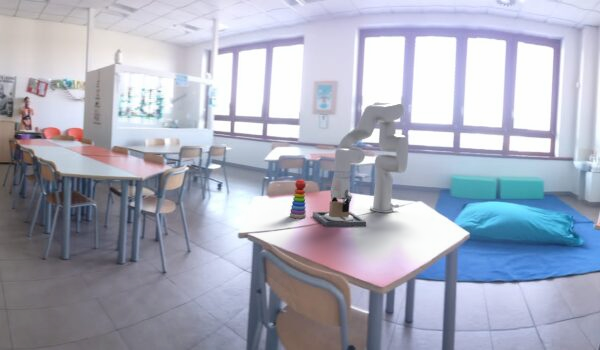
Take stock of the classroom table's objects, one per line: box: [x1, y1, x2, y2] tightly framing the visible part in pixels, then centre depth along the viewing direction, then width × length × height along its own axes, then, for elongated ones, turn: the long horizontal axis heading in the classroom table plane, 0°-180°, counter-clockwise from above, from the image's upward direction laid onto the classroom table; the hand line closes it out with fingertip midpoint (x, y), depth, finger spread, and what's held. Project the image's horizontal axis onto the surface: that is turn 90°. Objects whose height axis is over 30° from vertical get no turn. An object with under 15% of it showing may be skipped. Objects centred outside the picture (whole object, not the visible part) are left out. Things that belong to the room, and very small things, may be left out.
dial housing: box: [312, 211, 367, 228], centre depth 191 cm, size 20×20×2 cm
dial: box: [324, 200, 353, 221], centre depth 190 cm, size 14×14×8 cm
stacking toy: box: [289, 178, 307, 219], centre depth 193 cm, size 8×8×19 cm
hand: (339, 209), depth 190 cm, fingers open, 9 cm apart
